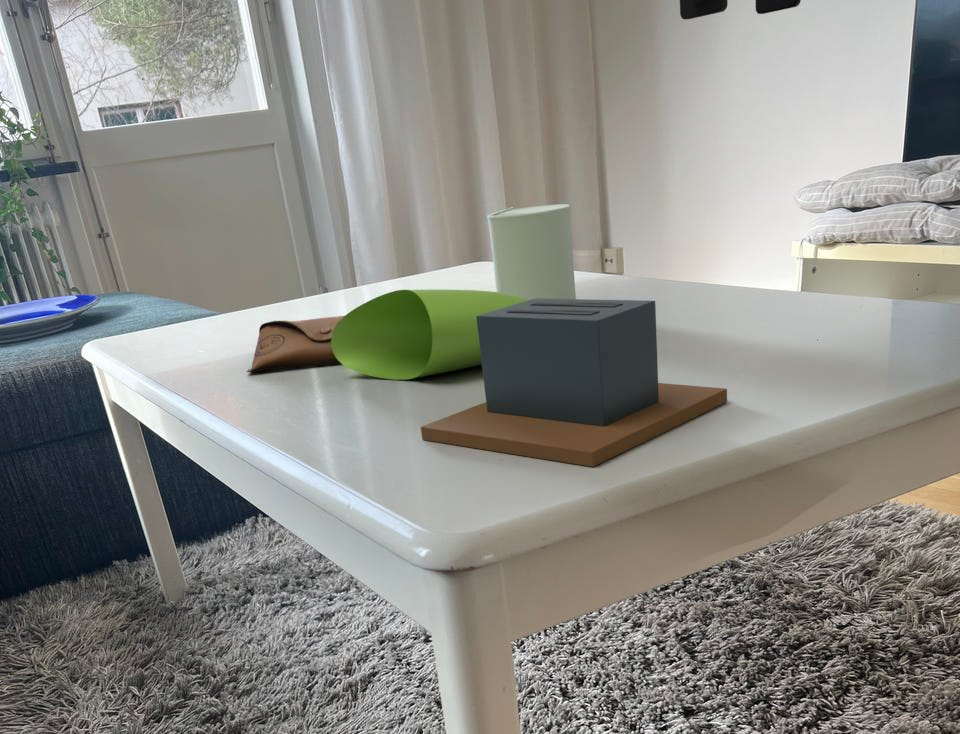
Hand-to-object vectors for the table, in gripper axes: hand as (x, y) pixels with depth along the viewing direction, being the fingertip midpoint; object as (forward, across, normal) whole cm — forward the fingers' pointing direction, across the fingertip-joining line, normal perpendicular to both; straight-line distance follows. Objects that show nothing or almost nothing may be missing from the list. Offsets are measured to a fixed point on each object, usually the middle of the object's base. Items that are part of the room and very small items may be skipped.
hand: (742, 12), depth 66 cm
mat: (+24, +15, -6) cm, 29 cm away
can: (+24, -17, -36) cm, 47 cm away
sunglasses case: (+24, +5, -47) cm, 53 cm away
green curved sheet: (+24, +5, -29) cm, 38 cm away
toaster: (+23, +15, -7) cm, 28 cm away
